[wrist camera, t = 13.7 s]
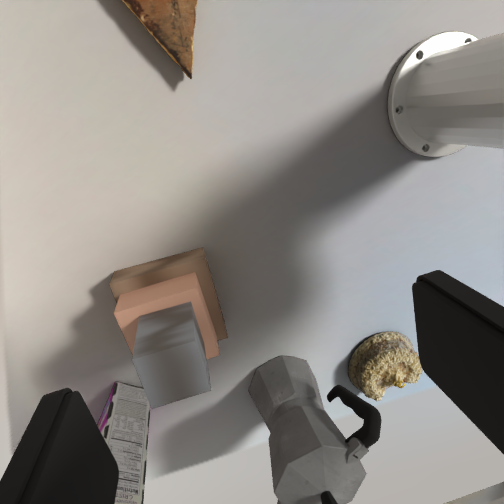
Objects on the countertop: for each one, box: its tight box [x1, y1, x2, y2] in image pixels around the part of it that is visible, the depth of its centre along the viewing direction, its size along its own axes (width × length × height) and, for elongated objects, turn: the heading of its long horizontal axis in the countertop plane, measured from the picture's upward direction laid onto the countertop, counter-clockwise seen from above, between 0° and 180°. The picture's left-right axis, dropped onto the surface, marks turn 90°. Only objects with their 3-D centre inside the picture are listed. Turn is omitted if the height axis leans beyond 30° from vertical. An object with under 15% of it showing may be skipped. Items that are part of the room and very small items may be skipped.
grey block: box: [132, 301, 211, 409], centre depth 33 cm, size 5×5×7 cm
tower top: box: [114, 272, 220, 359], centre depth 39 cm, size 8×8×4 cm
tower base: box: [109, 248, 228, 341], centre depth 42 cm, size 10×10×4 cm
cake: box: [348, 332, 423, 401], centre depth 50 cm, size 10×10×5 cm
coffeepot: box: [248, 356, 381, 504], centre depth 42 cm, size 15×9×18 cm, turn 138°
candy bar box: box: [97, 382, 151, 504], centre depth 40 cm, size 11×5×16 cm, turn 155°
